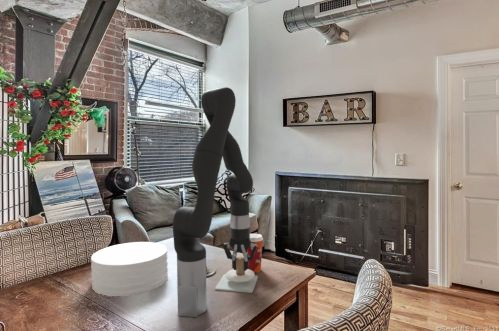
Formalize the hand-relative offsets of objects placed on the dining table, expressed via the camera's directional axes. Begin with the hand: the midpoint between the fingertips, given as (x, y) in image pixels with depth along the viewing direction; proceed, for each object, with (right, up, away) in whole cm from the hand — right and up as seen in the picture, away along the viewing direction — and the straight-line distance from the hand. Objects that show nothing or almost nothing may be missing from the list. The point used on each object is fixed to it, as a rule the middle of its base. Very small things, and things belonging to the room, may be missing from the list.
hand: (240, 269), depth 124 cm
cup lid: (0, -3, 0) cm, 3 cm away
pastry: (-17, -5, +11) cm, 20 cm away
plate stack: (-43, -6, +3) cm, 44 cm away
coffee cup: (+5, -5, +12) cm, 14 cm away
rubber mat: (-1, -5, -1) cm, 5 cm away
